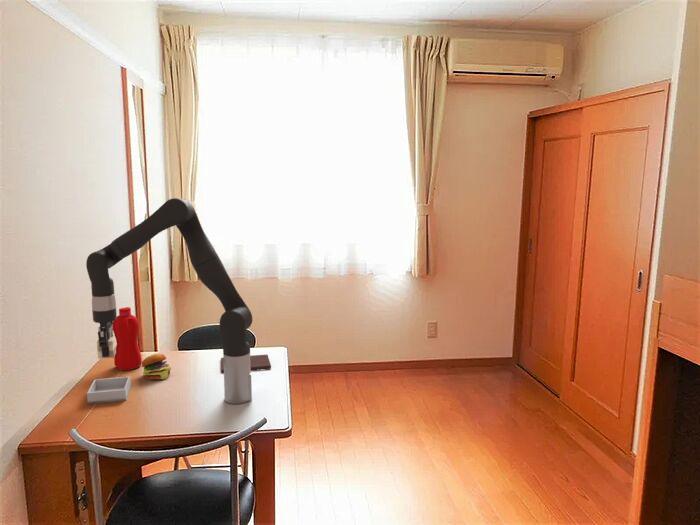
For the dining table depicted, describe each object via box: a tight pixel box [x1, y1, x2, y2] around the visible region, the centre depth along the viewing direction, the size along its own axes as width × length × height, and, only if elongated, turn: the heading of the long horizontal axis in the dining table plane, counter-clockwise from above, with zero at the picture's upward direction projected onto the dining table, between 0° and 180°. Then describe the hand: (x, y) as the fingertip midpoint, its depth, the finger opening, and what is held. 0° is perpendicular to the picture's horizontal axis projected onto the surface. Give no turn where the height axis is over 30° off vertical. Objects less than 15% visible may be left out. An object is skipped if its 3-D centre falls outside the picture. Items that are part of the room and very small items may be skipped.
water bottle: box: [113, 306, 143, 371], centre depth 208 cm, size 9×11×25 cm
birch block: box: [96, 336, 117, 359], centre depth 180 cm, size 5×5×6 cm
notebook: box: [220, 354, 272, 374], centre depth 214 cm, size 15×20×2 cm
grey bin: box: [86, 376, 132, 405], centre depth 183 cm, size 12×12×4 cm
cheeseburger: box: [141, 353, 172, 380], centre depth 201 cm, size 10×11×10 cm
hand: (107, 353), depth 181 cm, fingers closed on birch block, 5 cm apart
